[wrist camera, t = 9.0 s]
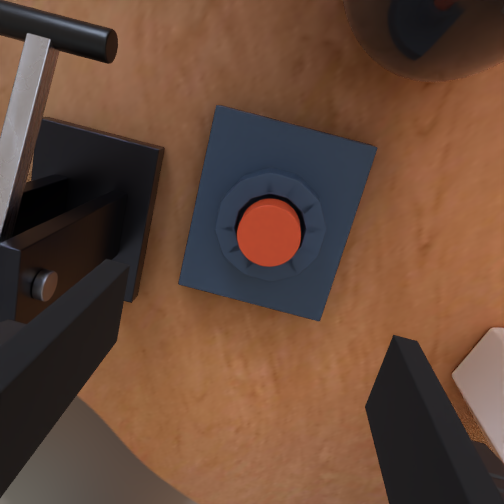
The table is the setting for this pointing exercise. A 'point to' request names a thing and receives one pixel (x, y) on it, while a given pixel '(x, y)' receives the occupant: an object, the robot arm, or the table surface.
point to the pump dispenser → (430, 36)
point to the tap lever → (37, 89)
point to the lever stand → (78, 215)
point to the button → (269, 232)
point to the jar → (485, 387)
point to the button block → (277, 187)
